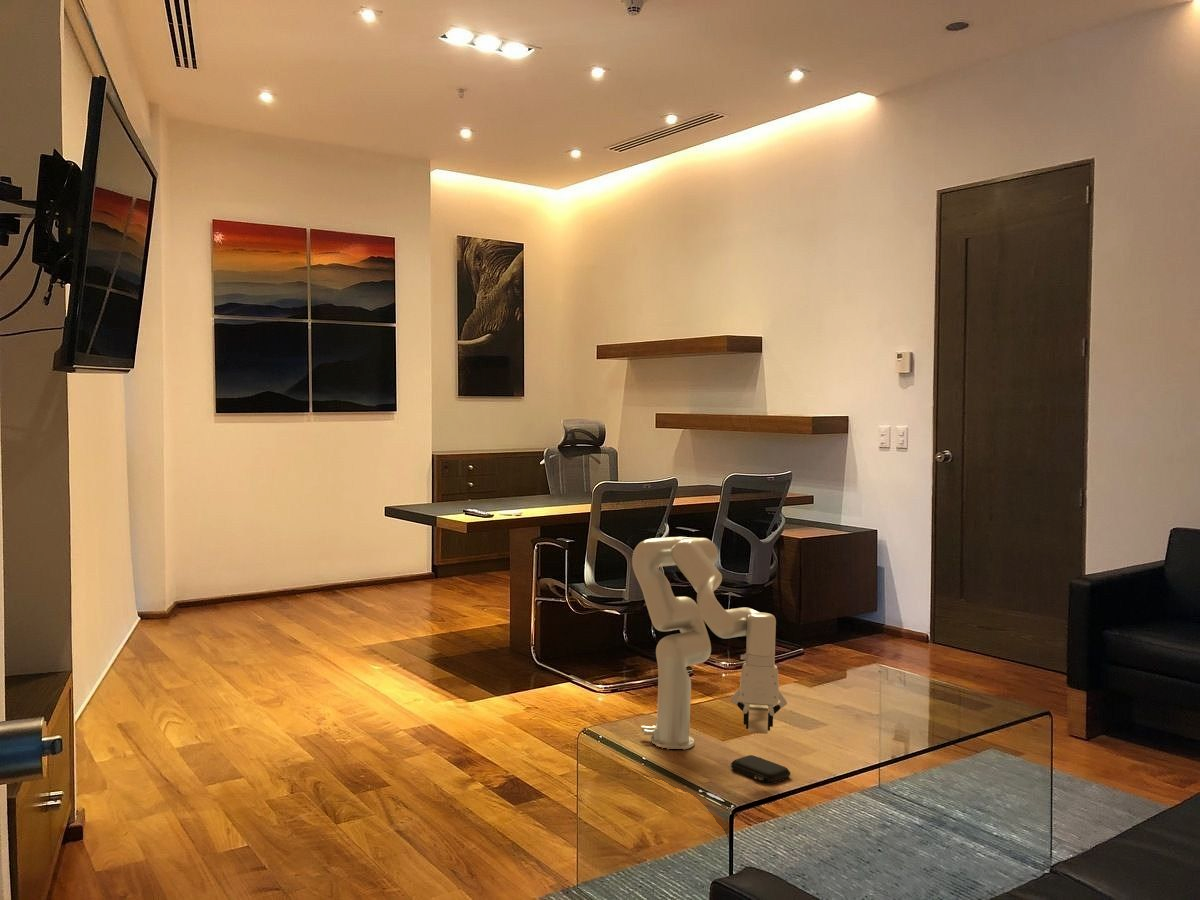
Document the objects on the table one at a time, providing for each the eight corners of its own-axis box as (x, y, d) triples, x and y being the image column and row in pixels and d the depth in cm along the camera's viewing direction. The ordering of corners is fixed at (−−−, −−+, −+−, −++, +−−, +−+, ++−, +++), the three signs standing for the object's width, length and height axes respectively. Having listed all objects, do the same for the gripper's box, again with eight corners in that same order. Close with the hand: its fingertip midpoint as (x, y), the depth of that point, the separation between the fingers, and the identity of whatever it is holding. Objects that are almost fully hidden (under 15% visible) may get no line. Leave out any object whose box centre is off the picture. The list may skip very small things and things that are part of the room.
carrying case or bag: (724, 771, 253) (767, 788, 242) (724, 760, 253) (768, 776, 242) (749, 763, 260) (793, 779, 249) (750, 752, 260) (793, 767, 249)
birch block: (748, 732, 248) (748, 709, 248) (748, 726, 253) (749, 704, 253) (767, 734, 247) (768, 711, 247) (767, 728, 252) (768, 705, 252)
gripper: (727, 661, 247) (725, 729, 248) (793, 665, 244) (791, 735, 245) (728, 654, 255) (726, 721, 255) (792, 659, 252) (790, 726, 252)
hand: (758, 727), depth 250 cm, fingers closed on birch block, 5 cm apart
